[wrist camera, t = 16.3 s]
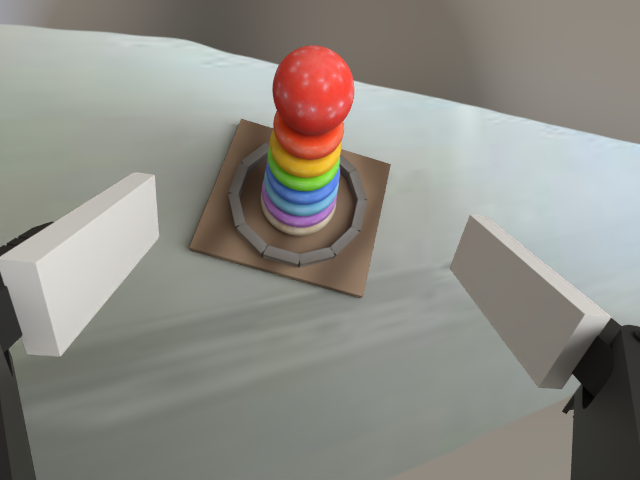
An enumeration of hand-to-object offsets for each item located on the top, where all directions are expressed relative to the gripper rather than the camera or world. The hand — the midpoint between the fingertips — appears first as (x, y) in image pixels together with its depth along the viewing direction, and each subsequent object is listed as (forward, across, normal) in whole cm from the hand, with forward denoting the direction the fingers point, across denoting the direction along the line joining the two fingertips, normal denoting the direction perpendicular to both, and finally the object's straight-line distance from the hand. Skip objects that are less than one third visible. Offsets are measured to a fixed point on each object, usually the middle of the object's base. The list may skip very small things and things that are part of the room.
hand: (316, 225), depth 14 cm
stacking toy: (+21, 0, -7) cm, 23 cm away
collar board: (+22, 0, -8) cm, 23 cm away
